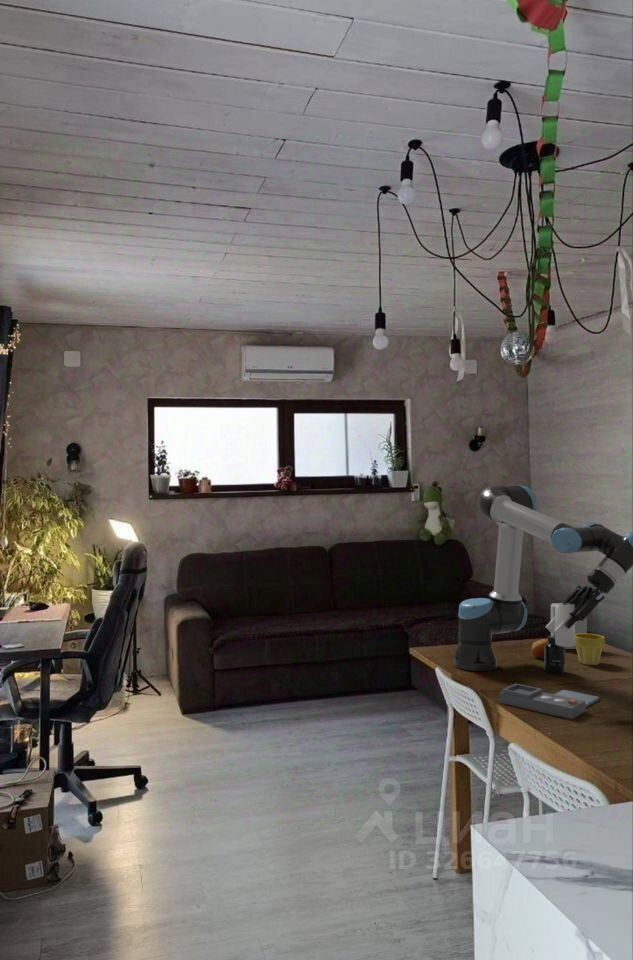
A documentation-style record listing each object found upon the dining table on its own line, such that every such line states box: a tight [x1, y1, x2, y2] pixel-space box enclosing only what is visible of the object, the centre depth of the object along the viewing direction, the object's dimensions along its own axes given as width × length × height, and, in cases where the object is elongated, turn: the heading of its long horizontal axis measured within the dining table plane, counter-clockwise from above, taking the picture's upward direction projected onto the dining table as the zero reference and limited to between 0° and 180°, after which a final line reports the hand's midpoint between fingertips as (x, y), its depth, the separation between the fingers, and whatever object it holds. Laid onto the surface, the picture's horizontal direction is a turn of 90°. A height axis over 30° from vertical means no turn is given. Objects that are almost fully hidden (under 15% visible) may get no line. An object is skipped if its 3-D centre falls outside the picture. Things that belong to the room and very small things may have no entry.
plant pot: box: [575, 633, 606, 666], centre depth 255 cm, size 10×10×10 cm
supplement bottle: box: [543, 635, 566, 675], centre depth 243 cm, size 7×7×12 cm
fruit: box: [531, 638, 548, 660], centre depth 262 cm, size 8×8×8 cm
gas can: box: [550, 602, 588, 651], centre depth 277 cm, size 15×5×25 cm, turn 83°
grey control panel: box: [498, 683, 586, 720], centre depth 204 cm, size 22×9×4 cm, turn 47°
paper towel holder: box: [555, 598, 575, 647], centre depth 210 cm, size 6×6×14 cm
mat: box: [553, 689, 600, 708], centre depth 211 cm, size 11×11×1 cm
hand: (553, 632), depth 210 cm, fingers closed on paper towel holder, 5 cm apart
